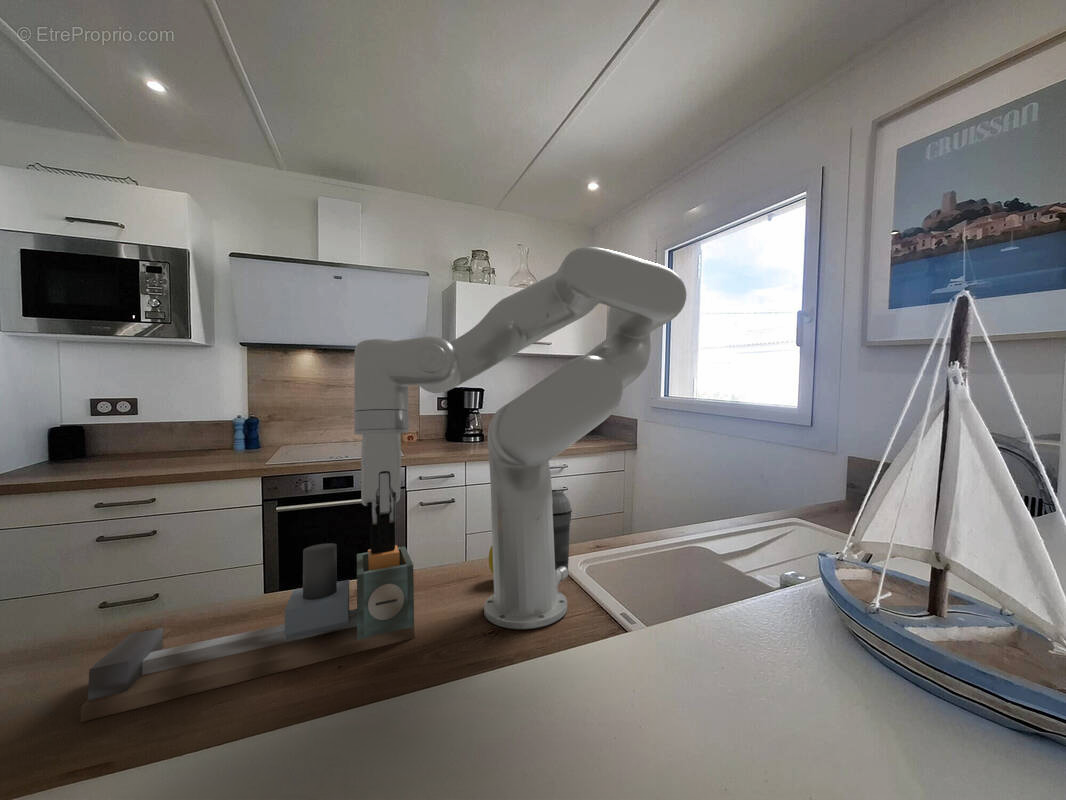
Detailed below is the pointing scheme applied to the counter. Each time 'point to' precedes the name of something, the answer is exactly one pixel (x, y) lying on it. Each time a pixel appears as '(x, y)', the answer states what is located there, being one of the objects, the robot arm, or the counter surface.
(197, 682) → the rail base
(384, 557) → the orange block
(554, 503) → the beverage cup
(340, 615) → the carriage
